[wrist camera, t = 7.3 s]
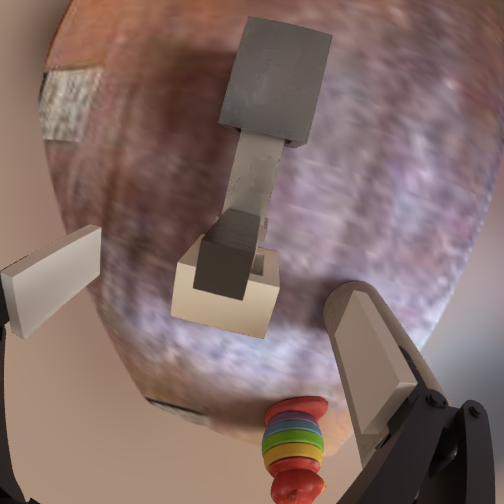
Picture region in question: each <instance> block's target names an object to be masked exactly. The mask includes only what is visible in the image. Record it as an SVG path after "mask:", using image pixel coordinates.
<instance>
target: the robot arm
mask: <svg viewBox="0 0 504 504" xmlns="http://www.w3.org/2000/svg"><path fill="white" fill-rule="evenodd" d="M100 245H101V227H99V226H95V225H91V224H89V225H87V226H85V227H83V228H81V229H79V230H77V231H75V232H73V233H71V234H69V235H67V236H65V237H63V238H61V239H59V240H57V241H55V242H53V243H51V244H49V245H47V246H45V247H44V248H42V249H40V250H38V251H36V252H34V253H32V254H30V255H28V256H25V257H24V258H22V259H20V260H19V261H16V262H15V263H13V264H11V265H10V266H8V267H6V268H4V269H3V270H1V271H0V504H40V503H38V502H37V501H35V500H34V499H32V498H30V501H29V502H26V501H25V499H24V496H23V493H22V491H21V489H20V487H19V485H18V483H17V481H16V479H15V477H14V473H13V470H12V464H11V458H10V452H9V446H8V439H7V430H6V419H5V405H4V353H5V339H6V329H5V326H4V325H5V324H6V323H7V322H8V321H10V325H11V329H12V333H14V334H16V335H17V336H19V337H20V338H22V339H24V340H25V339H26V338H27V337H28V336H29V335H30V334H31V333H32V332H33V331H35V330H36V329H37V328H38V327H39V326H40V325H41V324H42V323H43V322H44V321H46V320H47V319H48V318H49V317H50V316H51V315H52V314H53V313H55V312H56V311H57V310H58V309H59V308H60V307H61V306H62V305H64V304H65V303H66V302H67V301H68V300H70V299H71V298H72V297H73V296H74V295H76V294H77V293H78V292H79V291H80V290H82V289H83V288H84V287H85V286H86V285H88V284H89V283H90V282H91V281H93V280H94V279H95V278H96V277H98V276H99V275H100ZM335 338H336V342H337V345H338V348H339V352H340V355H341V359H342V362H343V366H344V369H345V373H346V377H347V380H348V384H349V388H350V391H351V395H352V399H353V403H354V407H355V411H356V415H357V419H358V423H359V427H360V431H361V434H379V433H380V432H381V430H382V429H383V428H384V427H385V426H386V425H387V426H388V429H389V433H388V434H387V435H386V436H385V437H384V438H383V440H382V441H381V442H380V443H379V444H378V445H377V446H376V447H375V449H376V451H375V453H374V454H373V456H372V457H371V459H370V460H369V462H368V463H367V464H366V466H365V467H364V469H363V470H362V472H361V473H360V474H359V476H358V477H357V478H356V480H355V481H354V482H353V484H352V485H351V486H350V487H349V489H348V490H347V491H346V492H345V494H344V495H343V496H342V497H341V499H340V500H339V501H338V502H337V503H336V504H412V503H413V501H414V499H415V497H416V495H417V493H418V491H419V494H418V499H417V504H495V473H494V460H493V450H492V441H491V434H490V427H489V421H488V416H487V413H486V410H485V409H484V407H483V406H482V405H481V404H480V403H479V402H476V401H473V400H467V401H466V402H465V403H464V404H463V405H462V407H461V408H460V409H458V408H455V407H451V406H448V402H447V399H446V398H445V397H444V396H443V395H442V394H441V393H440V392H438V391H436V390H434V389H428V388H427V386H426V384H425V382H424V380H423V378H422V377H421V375H420V373H419V371H418V369H416V368H417V367H416V366H415V364H414V363H413V360H412V359H411V357H410V355H409V353H408V352H407V351H406V350H405V349H403V348H402V347H401V346H398V345H397V344H396V342H395V340H394V338H393V336H392V335H391V333H390V331H389V329H388V328H387V326H386V324H385V322H384V321H383V319H382V317H381V316H380V314H379V312H378V311H377V309H376V307H375V306H374V304H373V302H372V301H371V299H370V297H369V296H368V294H367V293H365V292H361V291H356V290H353V293H352V295H351V298H350V300H349V303H348V305H347V307H346V310H345V312H344V314H343V317H342V319H341V321H340V324H339V326H338V328H337V330H336V333H335ZM456 452H457V453H456ZM455 453H456V455H455Z"/></svg>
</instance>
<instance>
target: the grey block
mask: <svg viewBox="0 0 504 504" xmlns="http://www.w3.org/2000/svg"><path fill="white" fill-rule="evenodd" d="M331 40H332V35H330V34H326V33H323V32H320V31H316V30H312V29H308V28H305V27H300V26H296V25H292V24H288V23H283V22H278V21H273V20H267V19H262V18H256V17H249V16H248V19H247V22H246V25H245V28H244V32H243V35H242V38H241V41H240V45H239V48H238V51H237V55H236V58H235V62H234V65H233V69H232V72H231V76H230V79H229V83H228V87H227V90H226V94H225V98H224V102H223V105H222V109H221V113H220V117H219V121H218V123H219V124H221V125H222V126H223V127H225V128H226V129H228V130H229V131H231V132H232V133H234V134H239V135H240V133H241V129H245V130H250V131H254V132H259V133H263V134H267V135H271V136H275V137H279V138H283V139H285V142H284V145H286V146H289V147H293V148H297V147H300V146H302V145H304V144H307V140H308V137H309V133H310V129H311V125H312V120H313V116H314V112H315V108H316V104H317V100H318V96H319V92H320V87H321V83H322V79H323V75H324V70H325V66H326V62H327V57H328V53H329V49H330V44H331Z"/></svg>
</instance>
